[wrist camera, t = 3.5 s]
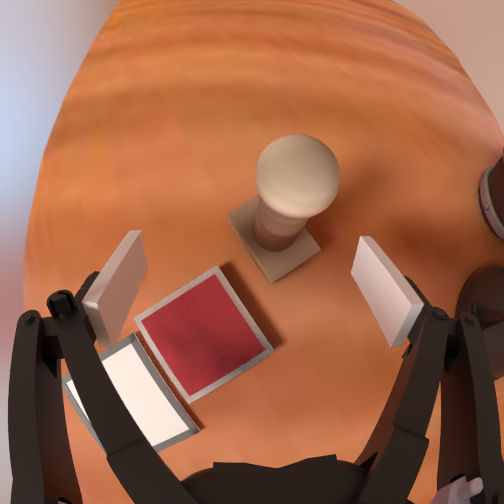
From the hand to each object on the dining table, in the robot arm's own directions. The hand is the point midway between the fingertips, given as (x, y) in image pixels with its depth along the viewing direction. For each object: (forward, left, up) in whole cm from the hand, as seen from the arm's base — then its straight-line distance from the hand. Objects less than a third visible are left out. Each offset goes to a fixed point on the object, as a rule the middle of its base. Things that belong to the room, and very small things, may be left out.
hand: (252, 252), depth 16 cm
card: (-4, +17, -9) cm, 20 cm away
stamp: (+2, -4, -9) cm, 10 cm away
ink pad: (-2, +6, -9) cm, 11 cm away
